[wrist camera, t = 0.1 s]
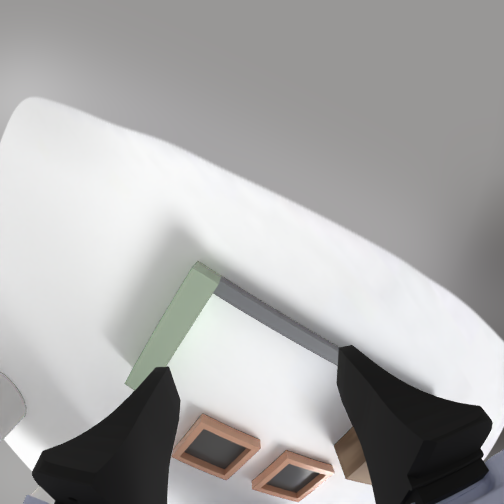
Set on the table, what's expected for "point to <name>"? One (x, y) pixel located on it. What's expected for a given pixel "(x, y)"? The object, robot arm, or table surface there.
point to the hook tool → (191, 304)
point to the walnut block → (352, 458)
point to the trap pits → (240, 451)
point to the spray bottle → (9, 406)
